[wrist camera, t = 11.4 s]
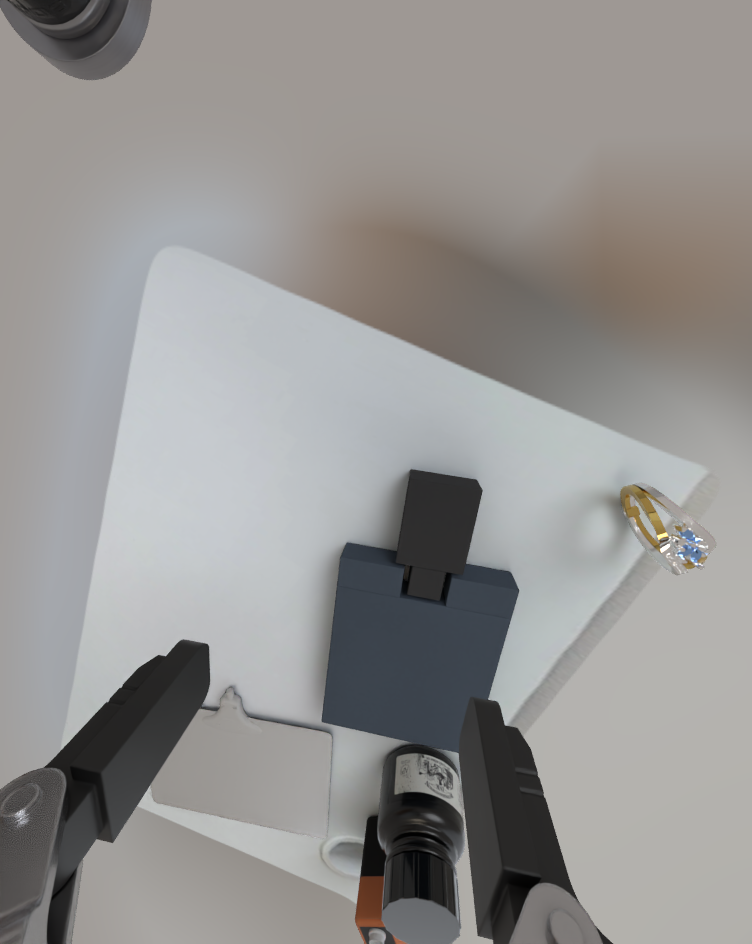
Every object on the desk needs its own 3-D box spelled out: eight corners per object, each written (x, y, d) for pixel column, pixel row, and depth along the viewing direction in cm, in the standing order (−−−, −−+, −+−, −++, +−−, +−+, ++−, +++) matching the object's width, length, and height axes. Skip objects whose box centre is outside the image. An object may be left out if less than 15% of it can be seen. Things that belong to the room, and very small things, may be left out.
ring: (596, 479, 30) (656, 515, 22) (636, 465, 29) (713, 497, 21) (617, 548, 31) (682, 604, 23) (656, 537, 30) (735, 591, 23)
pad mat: (347, 542, 34) (340, 557, 31) (511, 571, 33) (519, 590, 30) (328, 697, 40) (321, 722, 37) (468, 728, 39) (471, 756, 36)
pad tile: (410, 469, 32) (409, 478, 29) (477, 479, 31) (482, 490, 28) (393, 574, 35) (390, 591, 32) (453, 585, 34) (456, 604, 31)
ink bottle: (476, 770, 40) (499, 928, 29) (434, 810, 43) (439, 970, 31) (405, 728, 40) (399, 871, 28) (366, 771, 42) (346, 919, 31)
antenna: (335, 703, 40) (332, 713, 39) (328, 833, 47) (325, 845, 46) (135, 667, 42) (127, 676, 41) (157, 796, 49) (150, 806, 48)
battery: (380, 851, 46) (369, 977, 36) (366, 815, 44) (351, 935, 35) (412, 851, 45) (410, 979, 35) (399, 813, 43) (393, 936, 34)
